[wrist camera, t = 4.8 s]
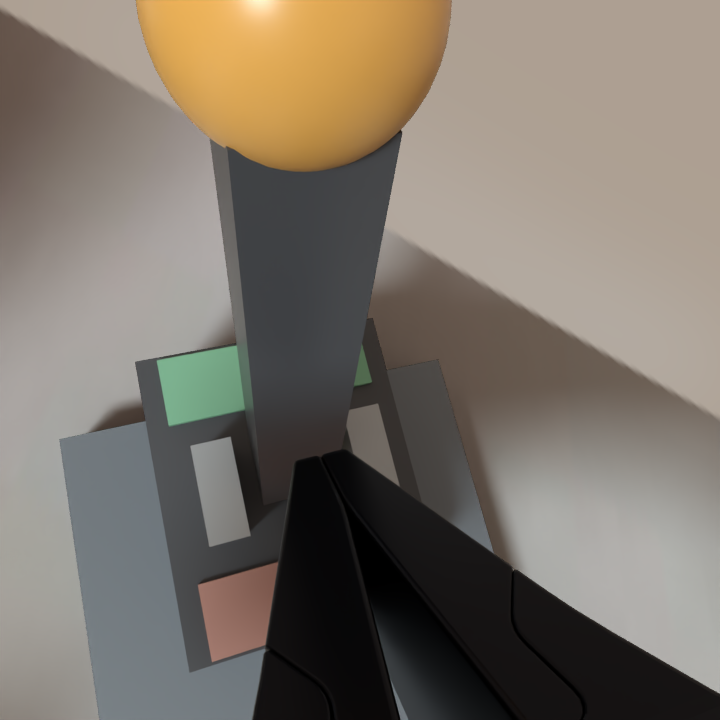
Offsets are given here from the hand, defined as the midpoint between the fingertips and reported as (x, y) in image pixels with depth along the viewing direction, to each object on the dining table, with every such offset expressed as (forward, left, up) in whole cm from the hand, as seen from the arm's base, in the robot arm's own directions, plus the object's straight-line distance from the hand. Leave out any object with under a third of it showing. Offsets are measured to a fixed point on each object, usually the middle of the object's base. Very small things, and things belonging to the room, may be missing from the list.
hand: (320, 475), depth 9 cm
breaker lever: (0, 0, -5) cm, 5 cm away
